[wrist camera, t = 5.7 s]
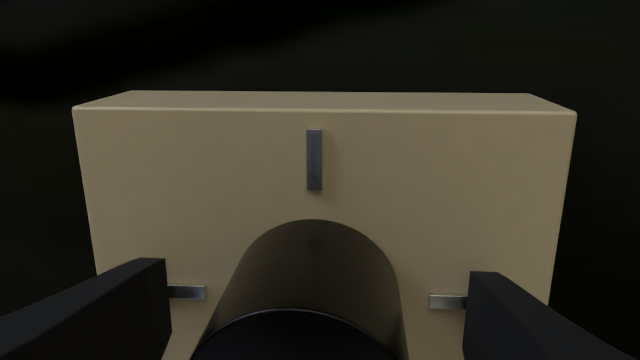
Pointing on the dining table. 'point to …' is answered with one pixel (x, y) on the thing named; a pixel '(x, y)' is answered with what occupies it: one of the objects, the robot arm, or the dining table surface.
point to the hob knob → (308, 299)
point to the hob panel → (329, 190)
